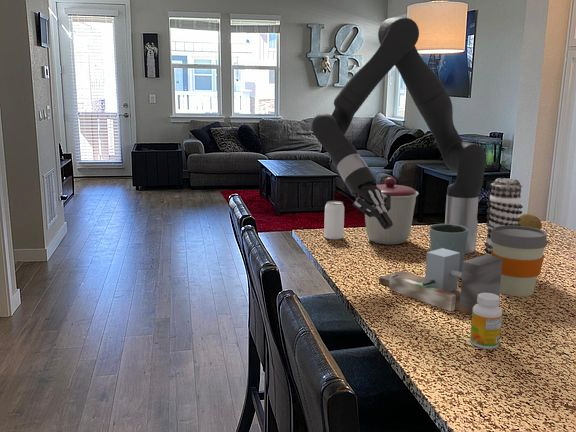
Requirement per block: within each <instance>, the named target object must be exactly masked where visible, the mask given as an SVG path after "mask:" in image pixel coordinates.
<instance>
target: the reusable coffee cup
mask: <svg viewBox="0 0 576 432" xmlns="http://www.w3.org/2000/svg"><path fill="white" fill-rule="evenodd" d="M547 237H548V236H547V232H546V231H544V230H542V229H541V230H539V229H536V228H531V227H524V226H497V227H495V228H493V232H492V237H491V241H492V244H493V250H492V251H491V256H495V257H499V258H503V259H502V270H501V281H500V292H499V294H503V295H506V296H512V297H529V296H532V295H534V291H535V287H536V284H537V279H538V276H540V275H541V272H542V271H541V270H542V266H543V263H544V260H545V255H544V251H545V247H547V244H548V242H547V239H548V238H547Z"/></svg>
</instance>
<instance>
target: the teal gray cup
mask: <svg viewBox="0 0 576 432" xmlns="http://www.w3.org/2000/svg"><path fill="white" fill-rule="evenodd" d="M468 231H469V229H468V228H466V227H464V226H460V225H455V224H445V223H436V224H432V225H430V226H429V240H430V241H429V242H430V243H429V245H430V246H429V252H430V251H434V250H438V249H441V248H444V249H448V250H452V251H455V252H459V253H460V264H459V272H461V273H462V270H463V261H465V256H466V254H465V249H466V242H467V237H468Z"/></svg>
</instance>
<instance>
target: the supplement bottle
mask: <svg viewBox="0 0 576 432" xmlns="http://www.w3.org/2000/svg"><path fill="white" fill-rule="evenodd" d="M500 297H501V296H500V295H499V296H498V295H496V294H492V293H479V294H478V297H477V303H478V304H476V305H474V307H473V311H472V315H471V322H470V323H471V326H470V334H469V335H470V337H469V342H470V343H471V344H472V345H473V346H475V347H477V348H480V349H485V350H491V349H496V348H498V347H499V345H500V340H501V339H500V338H501V333H502V332H501V330H502V329H501V328H502V322H503V321H502V320H503V319H502V318H503V310H502V309H501V307H500V306H499V305H500V300H501V299H500Z"/></svg>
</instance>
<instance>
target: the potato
mask: <svg viewBox="0 0 576 432" xmlns="http://www.w3.org/2000/svg"><path fill="white" fill-rule="evenodd" d="M518 217H519V218H520V219H521V221H519V222H518V223H519V224H520V226H524V227H531V228H536V229H539V230H542V227H543V224H542V221H541V219H540V218H539V217H538V216H536V215H534V214H530V213H525V214H523V213H522V214H520V215H519V216H518Z"/></svg>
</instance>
